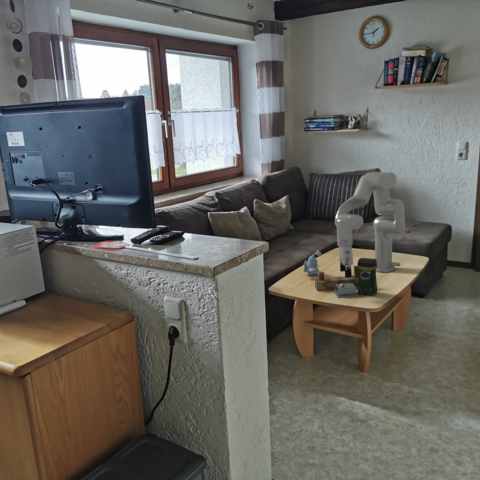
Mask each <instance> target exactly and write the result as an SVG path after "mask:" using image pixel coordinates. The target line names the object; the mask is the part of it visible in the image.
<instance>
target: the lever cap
mask: <svg viewBox="0 0 480 480" xmlns="http://www.w3.org/2000/svg"><path fill="white" fill-rule="evenodd" d="M334 291H335V292H336V293H337V295H338V296H339V295H352V294H357V292H356V291H357V288H356V287H355V285H354V284H353V283H347V284H344V283H341V284H335V290H334Z"/></svg>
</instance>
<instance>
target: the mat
mask: <svg viewBox="0 0 480 480" xmlns="http://www.w3.org/2000/svg"><path fill="white" fill-rule="evenodd" d="M333 294H335V296H336V297H337V298H338V299H341V298H352V297H353V298H354V297H356V298H357V297H358V296H359V295H358V294H357V293H356V294H352V295H339V296H338V295H337V293H336V292H335V290H333Z"/></svg>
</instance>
